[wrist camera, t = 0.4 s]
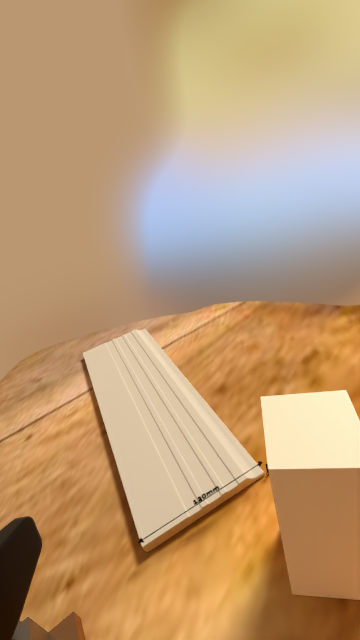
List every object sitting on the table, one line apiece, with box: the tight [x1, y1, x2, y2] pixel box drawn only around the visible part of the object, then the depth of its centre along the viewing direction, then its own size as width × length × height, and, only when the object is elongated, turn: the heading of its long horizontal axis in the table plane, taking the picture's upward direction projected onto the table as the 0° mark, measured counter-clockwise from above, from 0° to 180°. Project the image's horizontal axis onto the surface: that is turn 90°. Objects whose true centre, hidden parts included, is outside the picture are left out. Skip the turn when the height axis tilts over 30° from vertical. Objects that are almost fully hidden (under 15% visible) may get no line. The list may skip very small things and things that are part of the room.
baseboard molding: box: [83, 329, 269, 552], centre depth 36 cm, size 31×3×12 cm
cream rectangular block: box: [261, 390, 360, 600], centre depth 16 cm, size 4×4×12 cm
